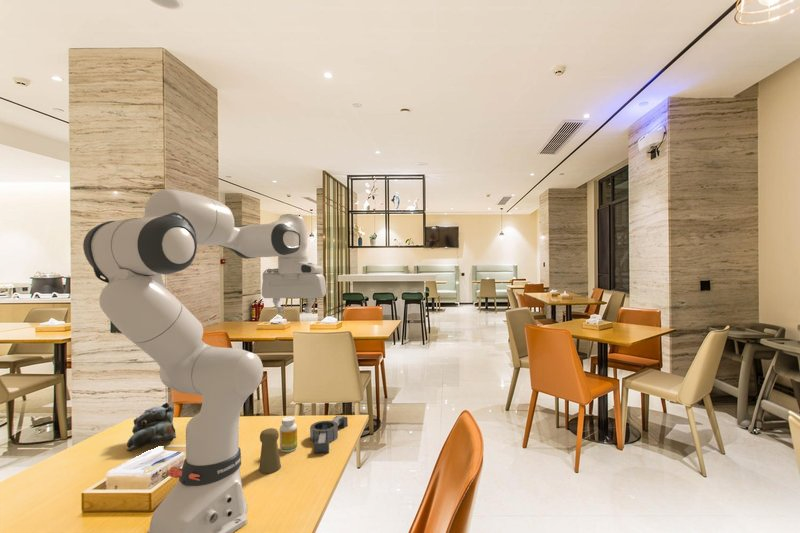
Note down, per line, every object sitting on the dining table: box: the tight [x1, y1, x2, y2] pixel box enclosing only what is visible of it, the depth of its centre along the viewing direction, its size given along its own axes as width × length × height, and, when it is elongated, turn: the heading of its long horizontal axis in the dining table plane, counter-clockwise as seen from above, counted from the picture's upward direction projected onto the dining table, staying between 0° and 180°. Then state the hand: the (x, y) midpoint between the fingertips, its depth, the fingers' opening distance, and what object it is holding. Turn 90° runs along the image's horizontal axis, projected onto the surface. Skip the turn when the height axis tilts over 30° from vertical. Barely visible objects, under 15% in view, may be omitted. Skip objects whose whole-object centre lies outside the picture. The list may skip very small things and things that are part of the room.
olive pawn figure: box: [258, 427, 282, 475], centre depth 112 cm, size 6×6×11 cm
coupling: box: [309, 414, 349, 455], centre depth 131 cm, size 23×12×4 cm, turn 157°
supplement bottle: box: [279, 415, 298, 453], centre depth 124 cm, size 5×5×10 cm
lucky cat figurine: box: [126, 402, 177, 452], centre depth 131 cm, size 15×12×14 cm
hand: (294, 312), depth 120 cm, fingers open, 8 cm apart
